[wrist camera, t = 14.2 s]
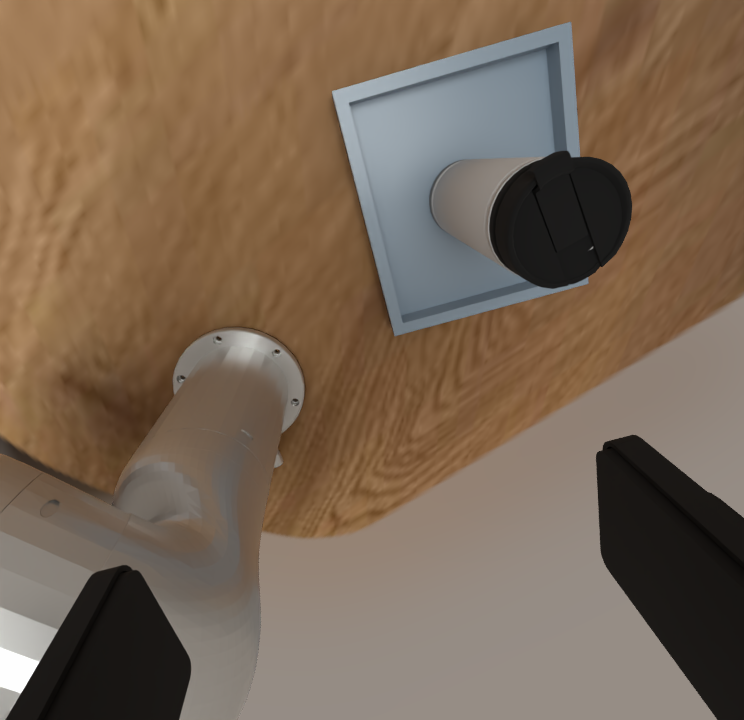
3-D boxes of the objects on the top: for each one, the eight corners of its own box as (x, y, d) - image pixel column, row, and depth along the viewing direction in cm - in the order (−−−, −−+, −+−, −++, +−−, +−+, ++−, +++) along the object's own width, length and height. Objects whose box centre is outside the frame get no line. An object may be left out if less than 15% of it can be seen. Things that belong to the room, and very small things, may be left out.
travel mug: (480, 139, 38) (617, 117, 19) (511, 212, 40) (658, 253, 22) (413, 180, 39) (485, 196, 20) (448, 249, 41) (538, 317, 23)
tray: (572, 276, 44) (588, 283, 41) (391, 325, 44) (394, 336, 42) (552, 32, 36) (571, 21, 33) (332, 97, 36) (331, 91, 34)
